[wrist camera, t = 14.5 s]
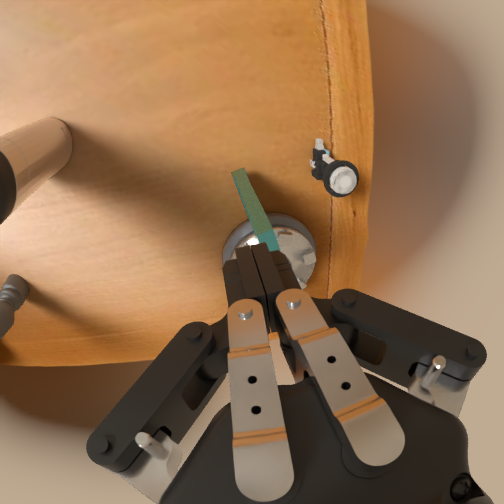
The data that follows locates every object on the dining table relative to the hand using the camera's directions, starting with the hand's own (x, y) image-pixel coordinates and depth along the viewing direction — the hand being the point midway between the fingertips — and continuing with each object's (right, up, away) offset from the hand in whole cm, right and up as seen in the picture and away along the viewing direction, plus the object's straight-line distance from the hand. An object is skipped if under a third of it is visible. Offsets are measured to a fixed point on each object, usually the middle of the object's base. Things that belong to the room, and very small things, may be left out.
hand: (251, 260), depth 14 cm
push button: (+11, +16, +31) cm, 36 cm away
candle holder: (-50, -7, +33) cm, 61 cm away
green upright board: (+2, +3, +35) cm, 35 cm away
